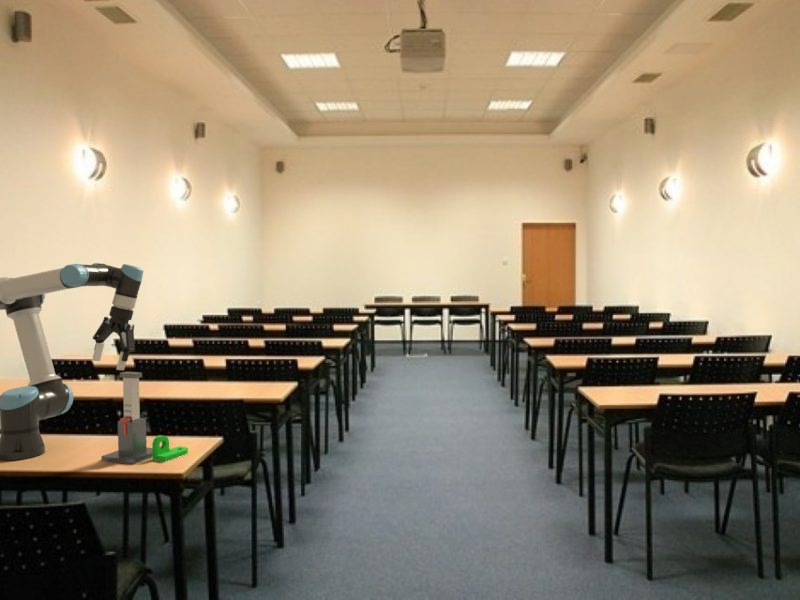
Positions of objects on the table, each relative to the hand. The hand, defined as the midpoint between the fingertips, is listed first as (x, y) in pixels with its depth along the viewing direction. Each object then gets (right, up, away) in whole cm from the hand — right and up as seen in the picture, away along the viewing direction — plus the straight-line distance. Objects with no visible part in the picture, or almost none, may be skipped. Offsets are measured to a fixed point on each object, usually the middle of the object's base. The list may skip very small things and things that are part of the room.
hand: (107, 365), depth 225 cm
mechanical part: (+25, -32, -4) cm, 41 cm away
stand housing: (+11, -32, -5) cm, 34 cm away
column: (+11, -30, -5) cm, 32 cm away
